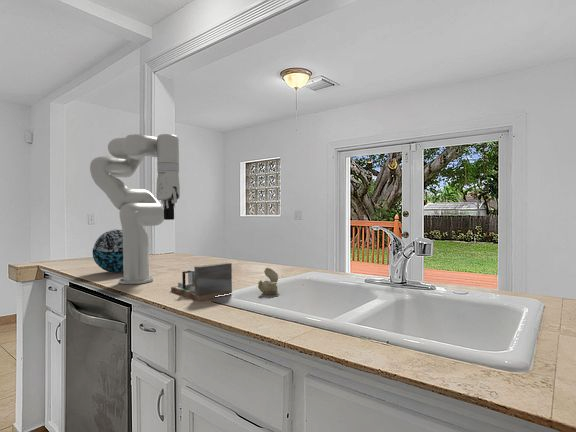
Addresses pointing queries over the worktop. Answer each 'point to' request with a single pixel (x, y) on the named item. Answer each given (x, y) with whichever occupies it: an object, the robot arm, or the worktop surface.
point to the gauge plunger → (189, 278)
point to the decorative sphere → (109, 251)
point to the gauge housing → (208, 282)
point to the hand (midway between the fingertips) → (169, 219)
